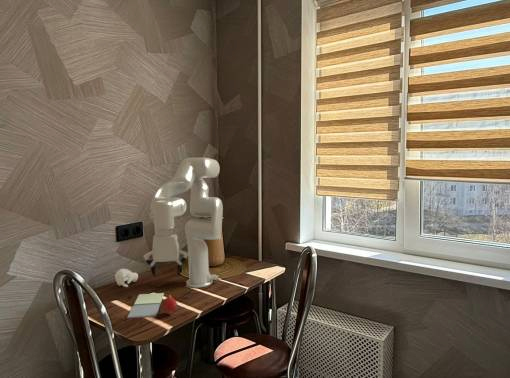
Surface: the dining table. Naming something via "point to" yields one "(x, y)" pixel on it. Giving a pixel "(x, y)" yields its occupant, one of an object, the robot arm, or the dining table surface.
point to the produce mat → (149, 299)
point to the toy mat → (144, 311)
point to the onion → (169, 305)
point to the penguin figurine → (125, 277)
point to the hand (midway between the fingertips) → (167, 274)
